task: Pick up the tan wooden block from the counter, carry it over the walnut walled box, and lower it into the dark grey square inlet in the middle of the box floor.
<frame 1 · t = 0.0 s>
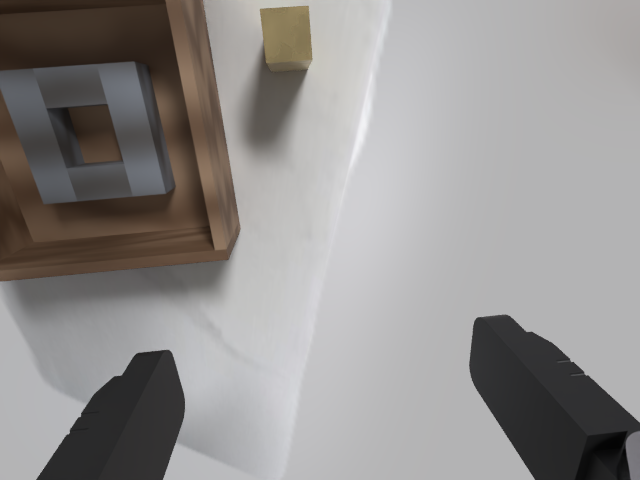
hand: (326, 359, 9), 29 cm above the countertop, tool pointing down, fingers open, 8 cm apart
walled box: (108, 133, 34), on the countertop
tan wooden block: (287, 50, 32), on the countertop
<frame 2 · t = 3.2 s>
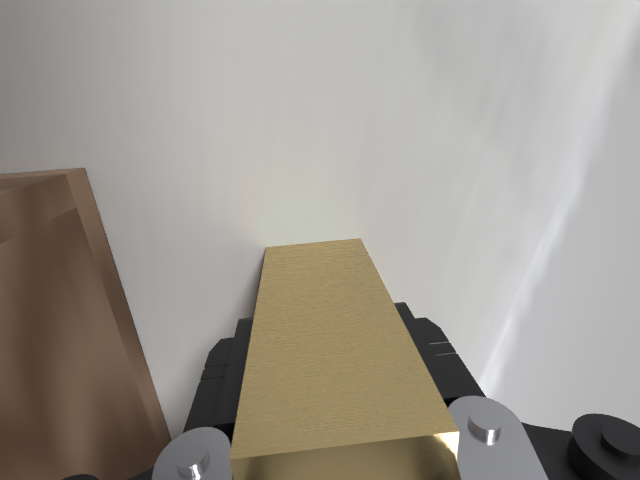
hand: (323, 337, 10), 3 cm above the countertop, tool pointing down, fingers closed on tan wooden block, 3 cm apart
tan wooden block: (317, 284, 13), on the countertop, touching gripper
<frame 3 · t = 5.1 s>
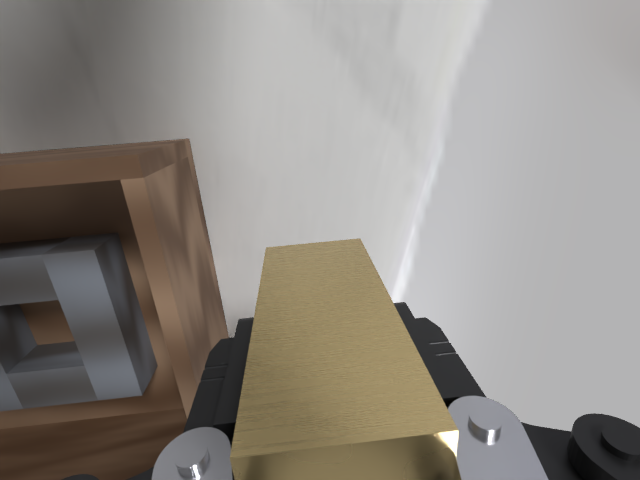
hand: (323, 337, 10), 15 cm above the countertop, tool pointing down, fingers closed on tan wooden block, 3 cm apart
walled box: (69, 304, 26), on the countertop
tan wooden block: (316, 284, 13), point 12 cm above the countertop, touching gripper
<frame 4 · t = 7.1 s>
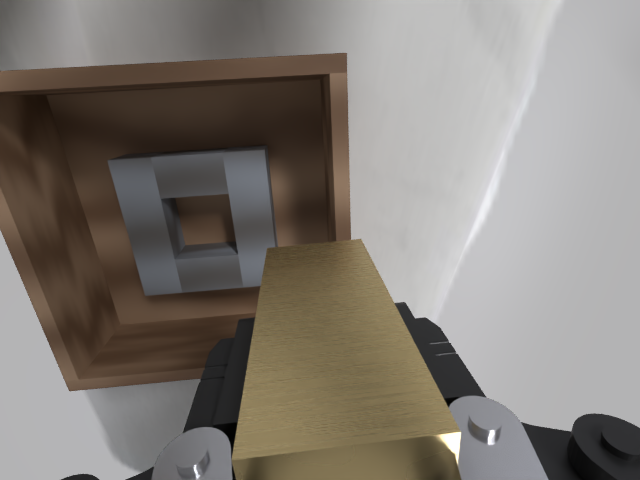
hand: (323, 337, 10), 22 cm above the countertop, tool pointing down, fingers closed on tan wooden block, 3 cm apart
walled box: (211, 212, 31), on the countertop
tan wooden block: (317, 285, 13), point 18 cm above the countertop, touching gripper
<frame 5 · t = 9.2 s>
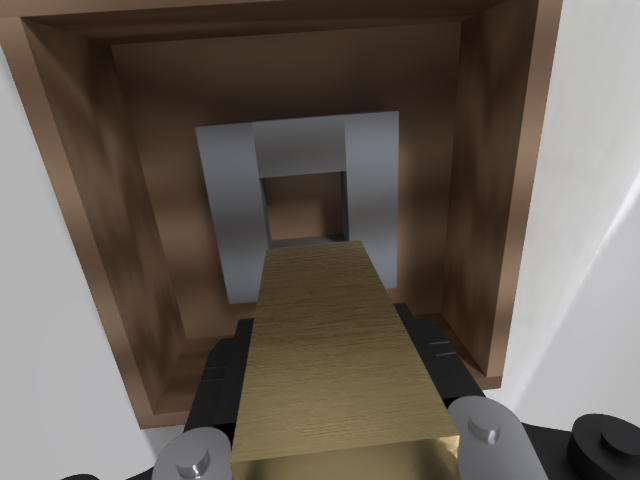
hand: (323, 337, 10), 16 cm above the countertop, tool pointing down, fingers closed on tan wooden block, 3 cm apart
walled box: (304, 198, 25), on the countertop
tan wooden block: (317, 286, 13), point 12 cm above the countertop, touching gripper
when the fingers open (5 cm above the countertop, at t = 11.2 s): tan wooden block stays where it is, resting on walled box.
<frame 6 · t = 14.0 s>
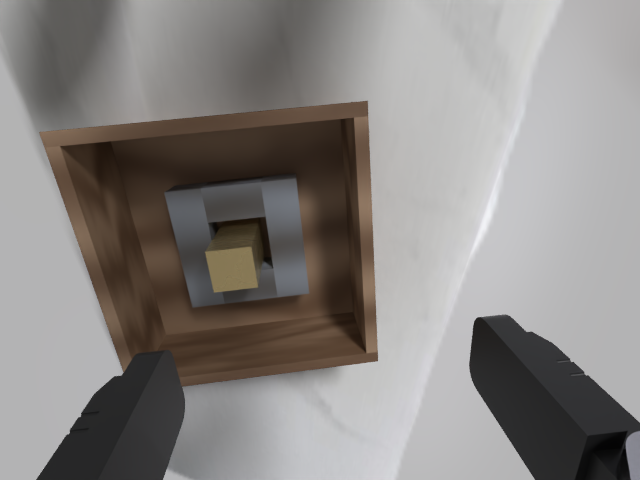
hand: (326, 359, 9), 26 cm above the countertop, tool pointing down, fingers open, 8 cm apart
walled box: (246, 232, 35), on the countertop
tan wooden block: (244, 235, 34), point 1 cm above the countertop, touching walled box
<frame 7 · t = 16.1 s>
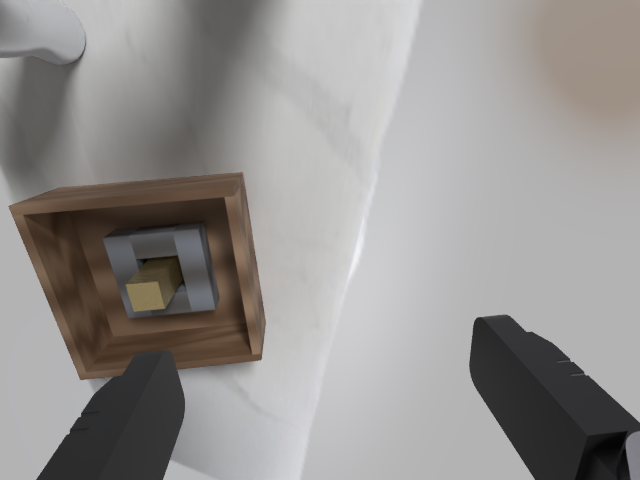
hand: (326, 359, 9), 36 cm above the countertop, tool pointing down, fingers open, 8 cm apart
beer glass: (55, 32, 36), on the countertop
walled box: (172, 261, 46), on the countertop
tan wooden block: (169, 265, 46), point 1 cm above the countertop, touching walled box
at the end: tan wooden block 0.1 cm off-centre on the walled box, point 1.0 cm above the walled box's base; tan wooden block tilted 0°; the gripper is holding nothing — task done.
